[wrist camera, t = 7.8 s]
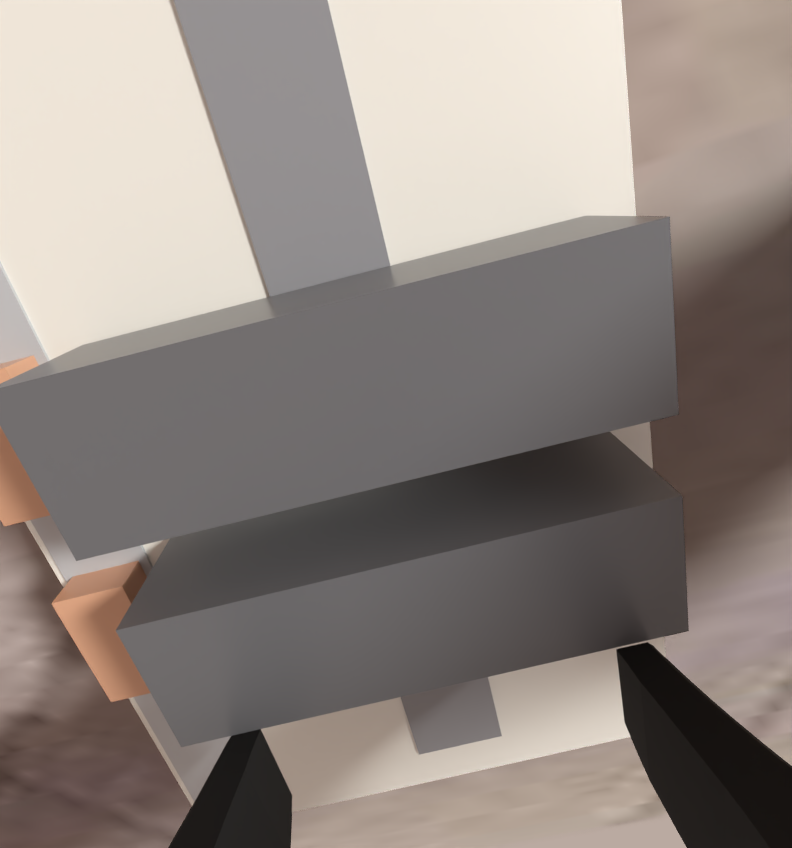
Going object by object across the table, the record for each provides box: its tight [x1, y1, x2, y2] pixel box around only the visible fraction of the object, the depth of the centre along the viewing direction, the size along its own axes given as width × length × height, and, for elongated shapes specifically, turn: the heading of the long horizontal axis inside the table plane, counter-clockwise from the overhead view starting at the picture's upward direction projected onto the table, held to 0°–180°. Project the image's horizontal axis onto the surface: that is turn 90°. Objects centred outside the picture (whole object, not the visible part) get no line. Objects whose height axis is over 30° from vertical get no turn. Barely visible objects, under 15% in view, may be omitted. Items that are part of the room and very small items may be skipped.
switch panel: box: [0, 0, 666, 812], centre depth 11 cm, size 14×31×3 cm, turn 14°
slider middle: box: [0, 216, 679, 561], centre depth 9 cm, size 10×3×3 cm, turn 104°
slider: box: [116, 431, 689, 747], centre depth 11 cm, size 10×3×3 cm, turn 104°
